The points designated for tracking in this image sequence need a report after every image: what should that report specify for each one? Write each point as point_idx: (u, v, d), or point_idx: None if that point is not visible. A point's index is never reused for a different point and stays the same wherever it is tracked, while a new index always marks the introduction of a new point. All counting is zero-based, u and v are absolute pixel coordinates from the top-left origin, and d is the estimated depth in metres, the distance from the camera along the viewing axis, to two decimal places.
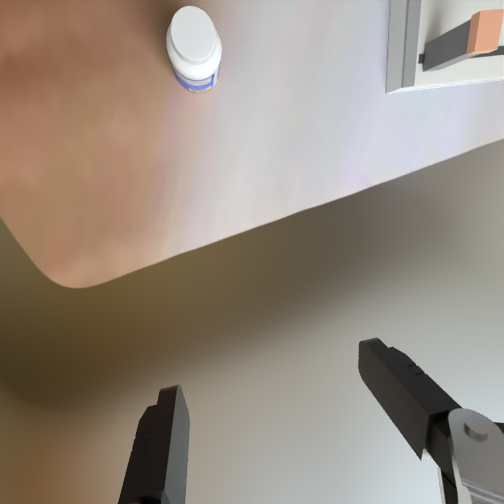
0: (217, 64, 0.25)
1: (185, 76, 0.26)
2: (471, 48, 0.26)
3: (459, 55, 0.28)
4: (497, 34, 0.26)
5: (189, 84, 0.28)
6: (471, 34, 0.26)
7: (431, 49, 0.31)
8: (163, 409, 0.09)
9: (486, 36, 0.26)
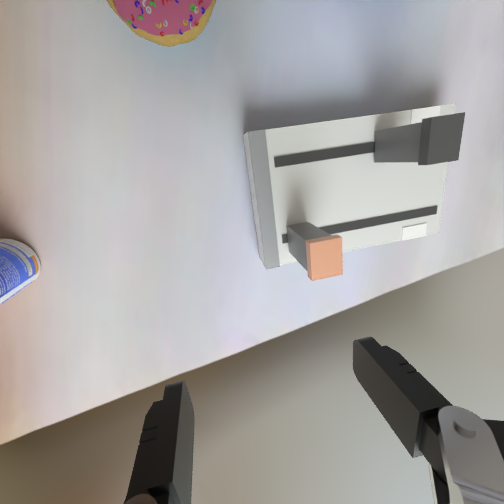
0: None
1: None
2: (309, 275, 0.22)
3: (305, 268, 0.23)
4: (339, 261, 0.21)
5: None
6: (307, 259, 0.21)
7: (290, 236, 0.26)
8: (169, 404, 0.09)
9: (324, 265, 0.21)
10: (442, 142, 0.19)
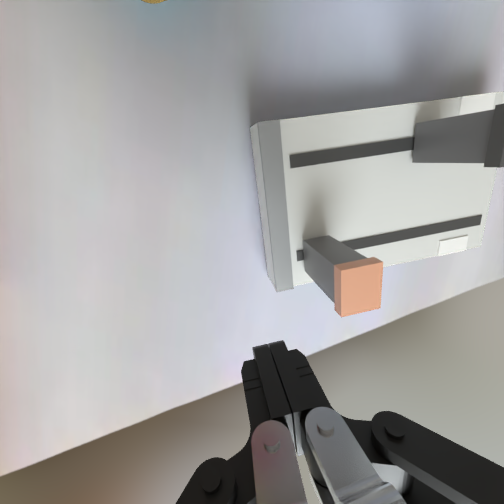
0: None
1: None
2: (338, 309, 0.17)
3: (330, 297, 0.18)
4: (377, 292, 0.16)
5: None
6: (336, 289, 0.16)
7: (307, 253, 0.21)
8: (263, 361, 0.10)
9: (358, 297, 0.16)
10: None
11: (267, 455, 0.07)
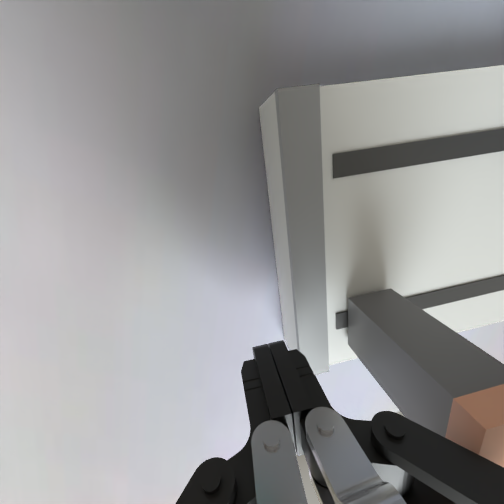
0: None
1: None
2: None
3: None
4: None
5: None
6: None
7: (359, 324, 0.12)
8: (263, 361, 0.10)
9: None
10: None
11: (267, 455, 0.07)
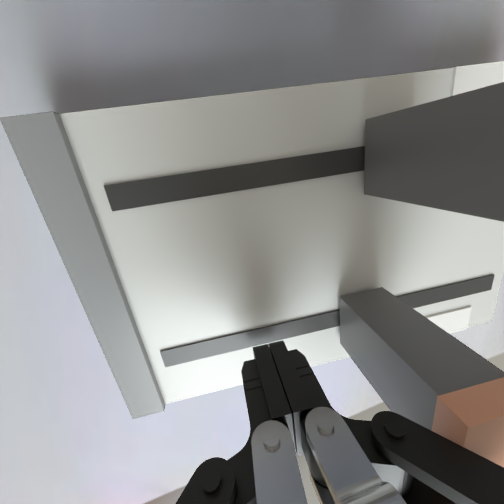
0: None
1: None
2: None
3: None
4: None
5: None
6: None
7: (350, 323, 0.12)
8: (263, 361, 0.10)
9: None
10: None
11: (267, 455, 0.07)
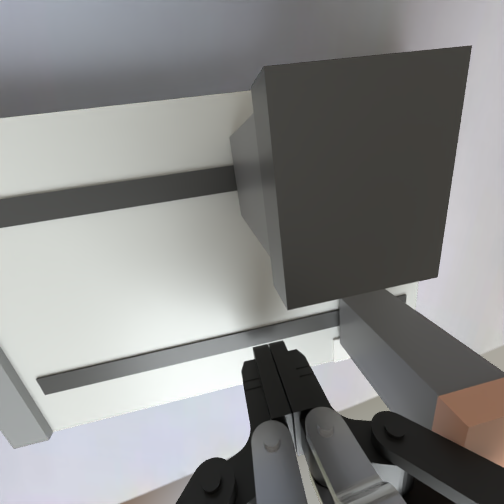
0: None
1: None
2: None
3: None
4: None
5: None
6: None
7: (350, 323, 0.12)
8: (263, 361, 0.10)
9: None
10: (353, 206, 0.04)
11: (267, 455, 0.07)
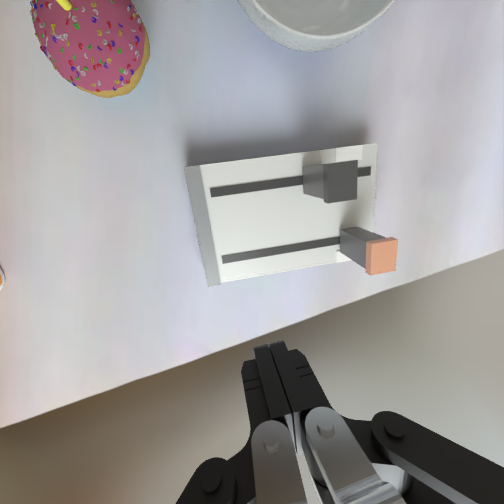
0: None
1: None
2: (368, 270, 0.26)
3: (362, 265, 0.27)
4: (394, 259, 0.26)
5: None
6: (367, 257, 0.26)
7: (343, 238, 0.30)
8: (263, 361, 0.10)
9: (381, 262, 0.25)
10: (340, 184, 0.22)
11: (267, 455, 0.07)
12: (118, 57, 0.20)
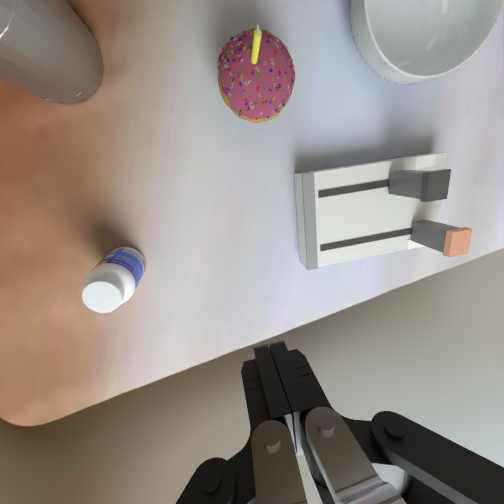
0: (131, 295, 0.31)
1: None
2: (446, 253, 0.33)
3: (438, 250, 0.35)
4: (467, 244, 0.33)
5: None
6: (446, 243, 0.33)
7: (417, 229, 0.38)
8: (263, 361, 0.10)
9: (458, 246, 0.33)
10: (436, 187, 0.29)
11: (267, 455, 0.07)
12: (280, 95, 0.27)
